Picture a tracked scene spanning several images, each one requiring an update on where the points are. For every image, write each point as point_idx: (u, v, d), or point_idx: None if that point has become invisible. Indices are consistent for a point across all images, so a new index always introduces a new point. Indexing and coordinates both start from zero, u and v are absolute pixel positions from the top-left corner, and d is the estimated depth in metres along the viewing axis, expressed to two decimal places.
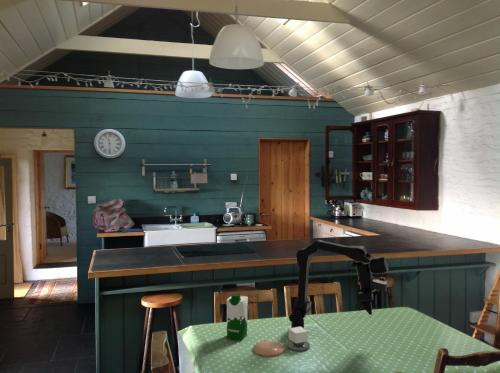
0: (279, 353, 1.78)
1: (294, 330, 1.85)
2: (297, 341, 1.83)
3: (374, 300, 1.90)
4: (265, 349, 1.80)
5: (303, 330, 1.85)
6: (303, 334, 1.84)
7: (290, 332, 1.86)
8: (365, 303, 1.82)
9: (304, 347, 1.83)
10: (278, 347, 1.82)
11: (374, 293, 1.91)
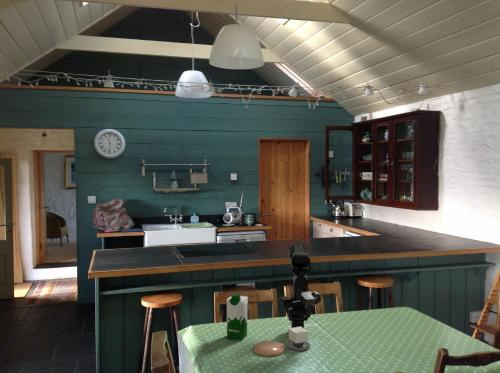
0: (279, 353, 1.78)
1: (294, 330, 1.85)
2: (297, 341, 1.83)
3: (309, 310, 1.87)
4: (265, 349, 1.80)
5: (303, 330, 1.85)
6: (303, 334, 1.84)
7: (290, 332, 1.86)
8: (286, 308, 1.83)
9: (304, 347, 1.83)
10: (278, 347, 1.82)
11: None
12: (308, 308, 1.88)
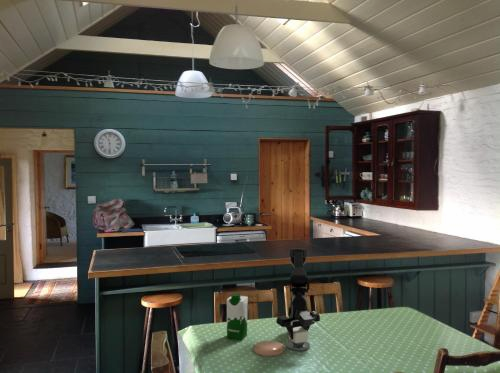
0: (279, 353, 1.78)
1: (294, 330, 1.85)
2: (297, 341, 1.83)
3: None
4: (265, 349, 1.80)
5: (303, 330, 1.85)
6: (303, 334, 1.84)
7: None
8: (288, 327, 1.85)
9: (304, 347, 1.83)
10: (278, 347, 1.82)
11: None
12: (304, 328, 1.88)
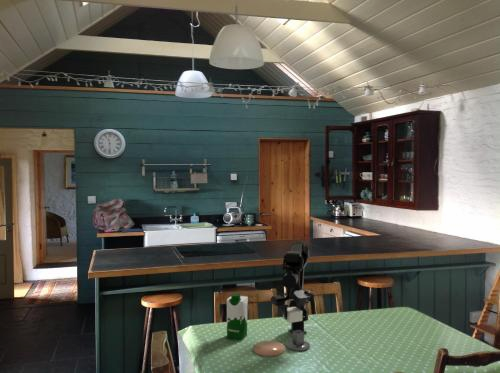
0: (279, 353, 1.78)
1: (289, 310, 1.84)
2: (291, 320, 1.81)
3: None
4: (265, 349, 1.80)
5: (297, 310, 1.84)
6: (297, 313, 1.82)
7: None
8: (282, 307, 1.83)
9: (304, 347, 1.83)
10: (278, 347, 1.82)
11: None
12: (298, 307, 1.86)
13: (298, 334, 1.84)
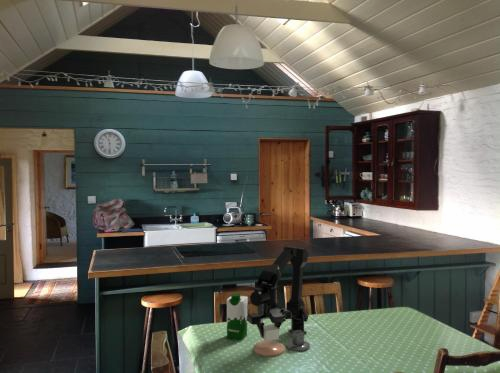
0: (279, 353, 1.78)
1: (265, 328, 1.82)
2: (268, 339, 1.79)
3: None
4: (265, 349, 1.80)
5: (274, 328, 1.82)
6: (274, 332, 1.80)
7: None
8: (259, 325, 1.81)
9: (304, 347, 1.83)
10: (278, 347, 1.82)
11: None
12: (275, 325, 1.84)
13: (298, 334, 1.84)
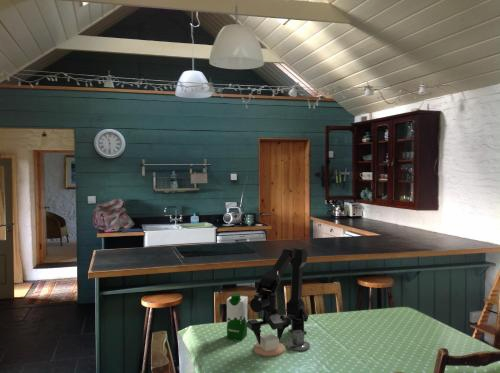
0: (279, 353, 1.78)
1: (265, 337, 1.82)
2: (267, 349, 1.79)
3: (279, 333, 1.84)
4: None
5: (274, 337, 1.82)
6: (274, 341, 1.80)
7: (261, 339, 1.83)
8: (255, 331, 1.81)
9: (304, 347, 1.83)
10: None
11: None
12: (278, 331, 1.85)
13: (298, 334, 1.84)
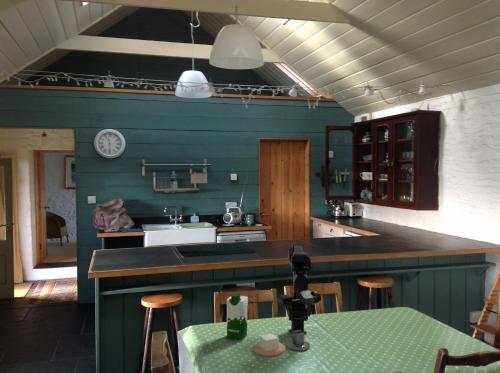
0: (279, 353, 1.78)
1: (265, 337, 1.82)
2: (267, 349, 1.79)
3: (309, 309, 1.89)
4: None
5: (274, 337, 1.82)
6: (274, 341, 1.80)
7: (261, 339, 1.83)
8: (286, 307, 1.87)
9: (304, 347, 1.83)
10: None
11: None
12: (308, 307, 1.90)
13: (298, 334, 1.84)
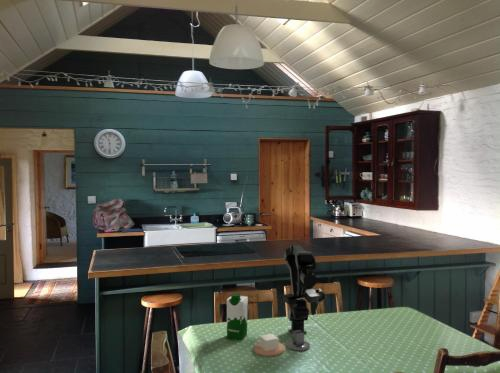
0: (279, 353, 1.78)
1: (265, 337, 1.82)
2: (267, 349, 1.79)
3: (313, 307, 1.90)
4: None
5: (274, 337, 1.82)
6: (274, 341, 1.80)
7: (261, 339, 1.83)
8: (291, 305, 1.87)
9: (304, 347, 1.83)
10: None
11: None
12: (312, 305, 1.91)
13: (298, 334, 1.84)
